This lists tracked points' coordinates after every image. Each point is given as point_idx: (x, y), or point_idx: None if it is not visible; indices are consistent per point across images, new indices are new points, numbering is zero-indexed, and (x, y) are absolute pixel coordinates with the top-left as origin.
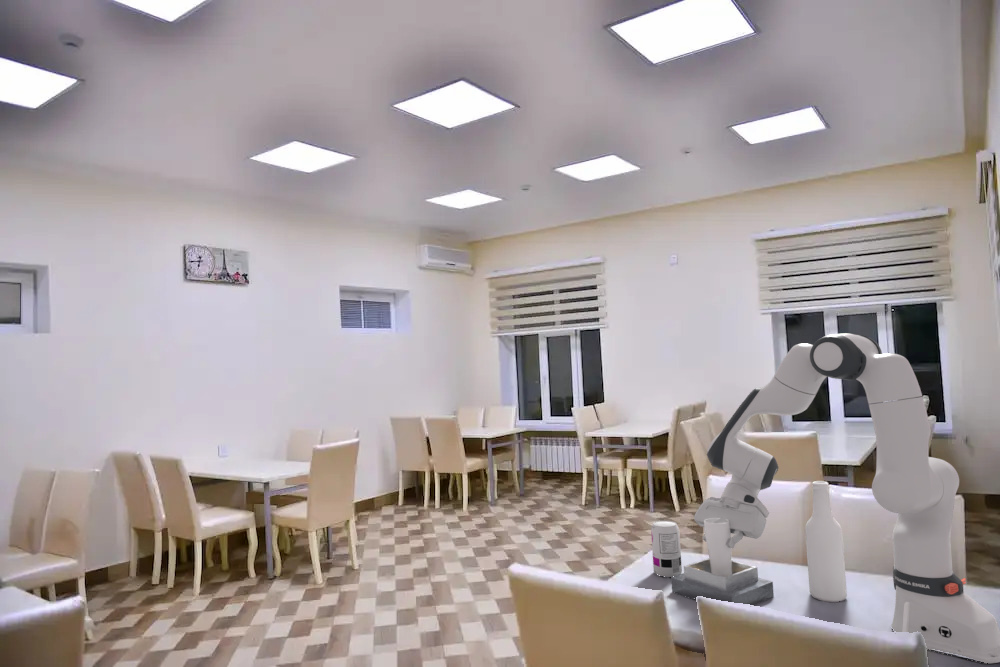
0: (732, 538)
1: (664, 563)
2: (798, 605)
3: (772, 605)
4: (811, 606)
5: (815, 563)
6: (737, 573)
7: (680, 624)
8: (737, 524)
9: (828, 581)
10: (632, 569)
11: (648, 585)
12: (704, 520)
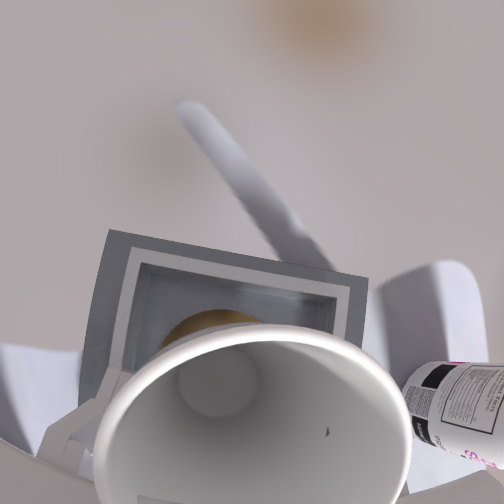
0: (93, 404)
1: (442, 369)
2: (26, 399)
3: (66, 366)
4: (8, 406)
5: None
6: (117, 338)
7: (206, 114)
8: (38, 501)
9: None
10: (485, 353)
11: (415, 287)
12: (404, 406)
